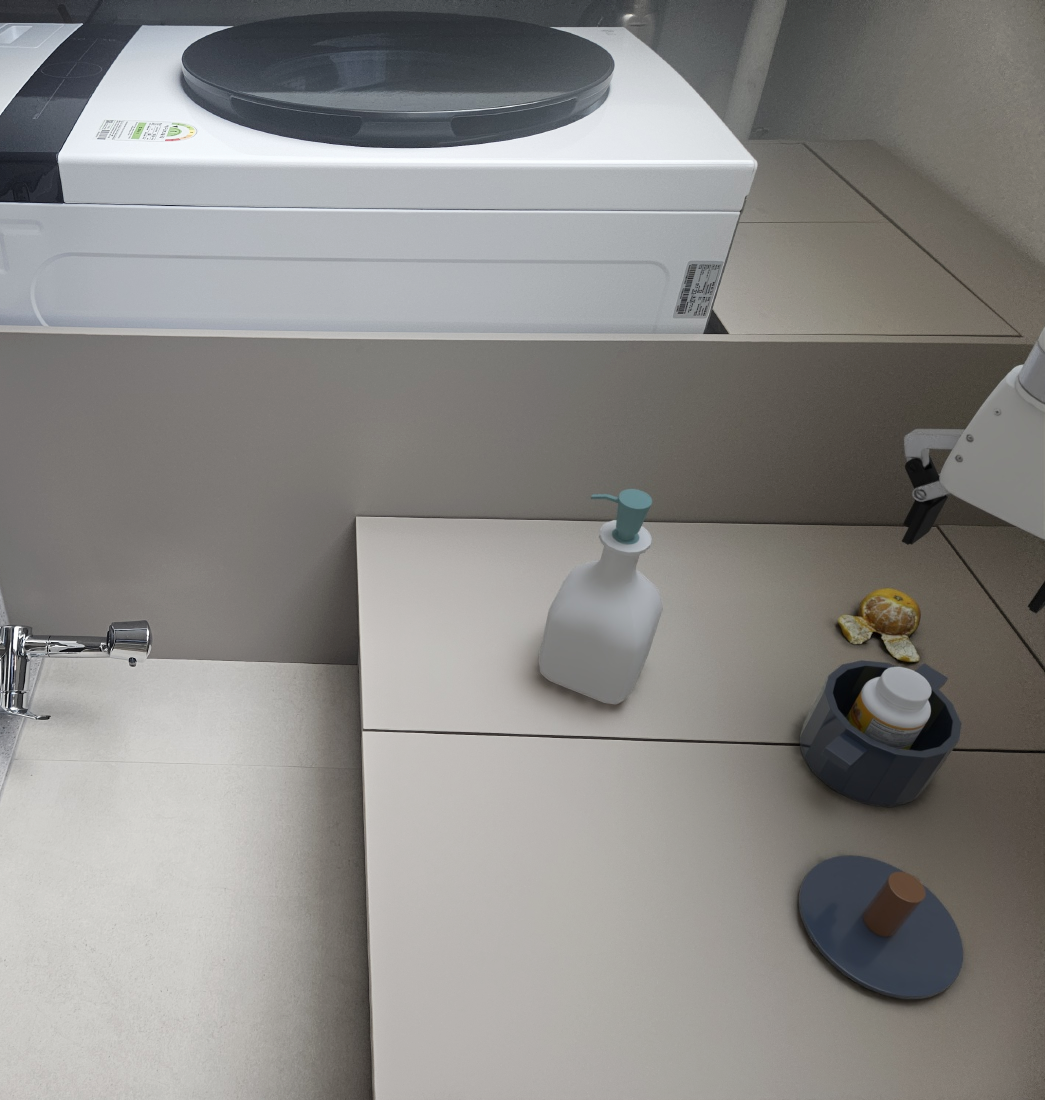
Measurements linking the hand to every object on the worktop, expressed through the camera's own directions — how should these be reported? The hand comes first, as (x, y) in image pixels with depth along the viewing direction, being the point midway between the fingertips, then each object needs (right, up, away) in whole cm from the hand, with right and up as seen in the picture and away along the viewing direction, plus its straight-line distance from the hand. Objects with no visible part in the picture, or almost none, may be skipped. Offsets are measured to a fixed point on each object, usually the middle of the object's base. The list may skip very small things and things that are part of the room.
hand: (975, 569), depth 75 cm
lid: (-6, -29, +3) cm, 30 cm away
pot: (0, -18, +16) cm, 24 cm away
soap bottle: (-23, -11, +25) cm, 36 cm away
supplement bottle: (0, -18, +16) cm, 24 cm away
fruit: (+9, -7, +28) cm, 31 cm away
